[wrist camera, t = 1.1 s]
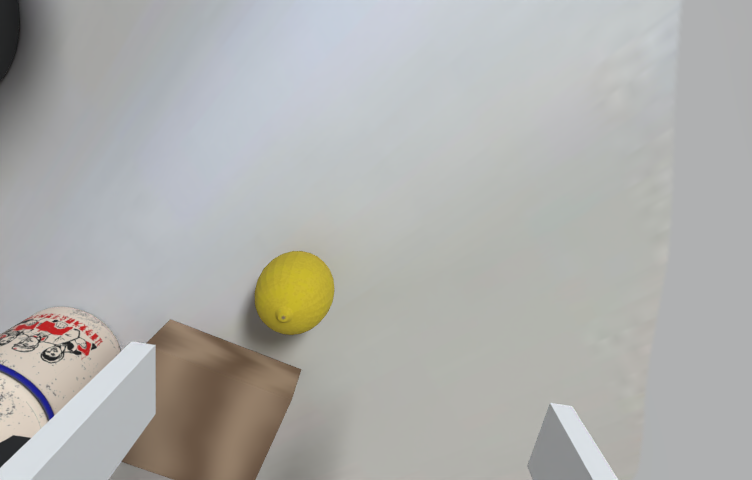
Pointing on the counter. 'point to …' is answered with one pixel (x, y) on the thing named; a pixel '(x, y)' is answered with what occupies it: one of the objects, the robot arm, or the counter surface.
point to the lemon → (294, 292)
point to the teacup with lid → (49, 366)
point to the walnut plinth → (211, 407)
